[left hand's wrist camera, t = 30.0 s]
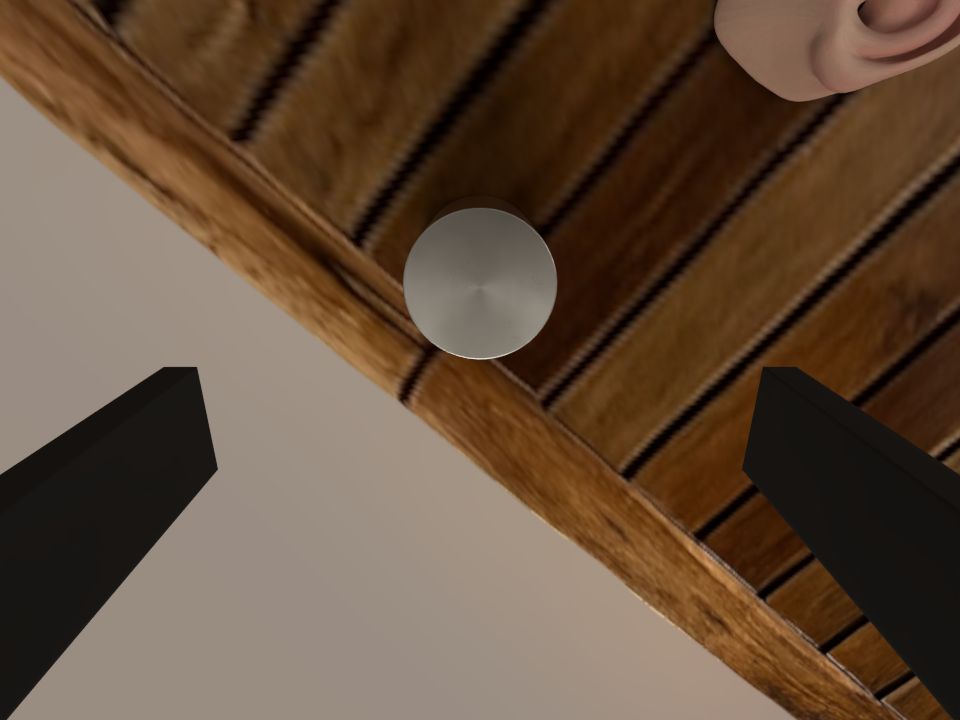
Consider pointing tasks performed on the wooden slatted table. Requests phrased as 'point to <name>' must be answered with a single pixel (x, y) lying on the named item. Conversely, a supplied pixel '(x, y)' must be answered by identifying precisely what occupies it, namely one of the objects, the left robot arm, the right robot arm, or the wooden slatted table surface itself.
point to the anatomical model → (834, 41)
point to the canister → (480, 279)
